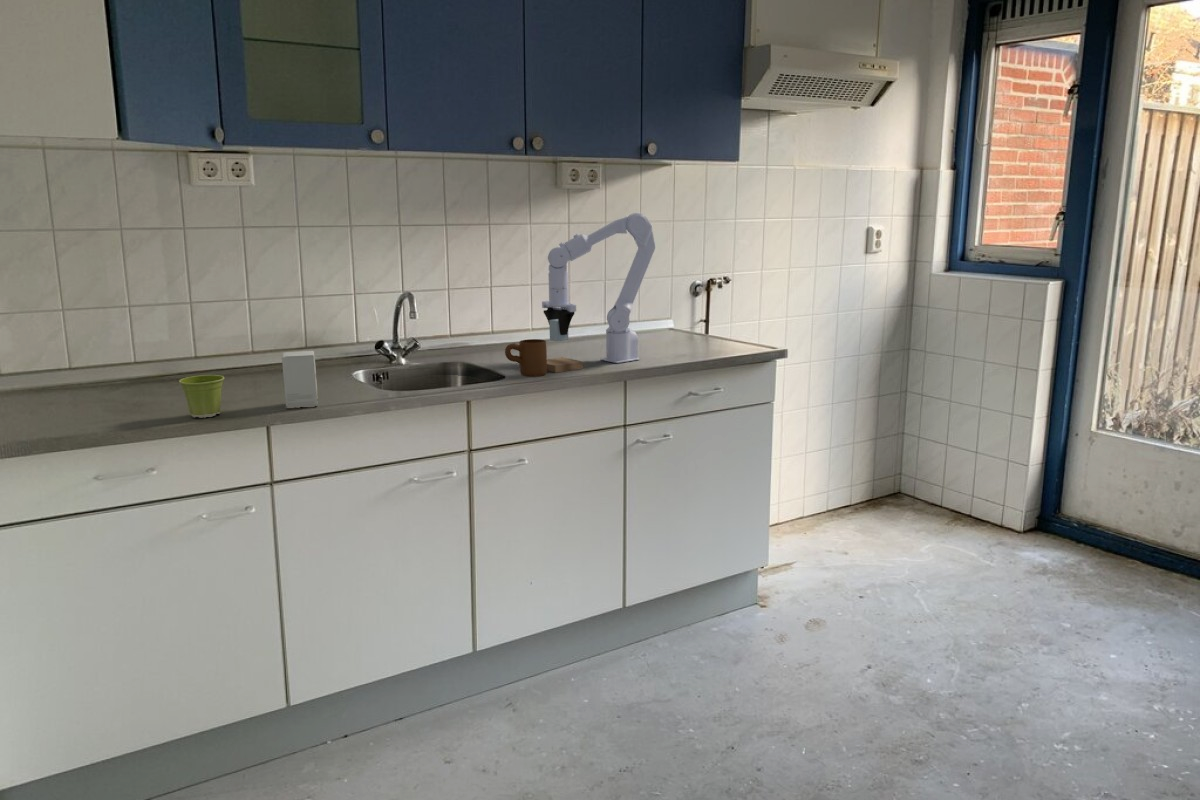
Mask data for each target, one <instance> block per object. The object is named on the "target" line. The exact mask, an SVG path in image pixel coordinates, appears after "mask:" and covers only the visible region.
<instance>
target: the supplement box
mask: <svg viewBox="0 0 1200 800" xmlns="http://www.w3.org/2000/svg"><path fill="white" fill-rule="evenodd" d="M281 364H282V376H283V387H284V388H283V389H284V401H285V407H286V406H291V405H303V404H318V401H317V399H318V384H317V383H318V382H317V369H316V368H317V367H316V356H315V351H314V350H303V351H287V352H286V351H285V352H282V355H281Z"/></svg>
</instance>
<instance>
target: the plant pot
mask: <svg viewBox="0 0 1200 800" xmlns="http://www.w3.org/2000/svg"><path fill="white" fill-rule="evenodd" d="M224 380H225V377H224V375H219V374H217V375H216V374H206V375H205V374H202V375H194V376H188V377H184V378H181V379H179V380H178V382H179V384H180V385H181V387H182V389H183V390H184V395H185V398H186V402H187V406H188V409H189V413H190V414H189V415H191V414H193V415H205V414H213V413H217V412H220V413H221V402H222V401H221V399H222V387H223V381H224Z"/></svg>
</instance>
